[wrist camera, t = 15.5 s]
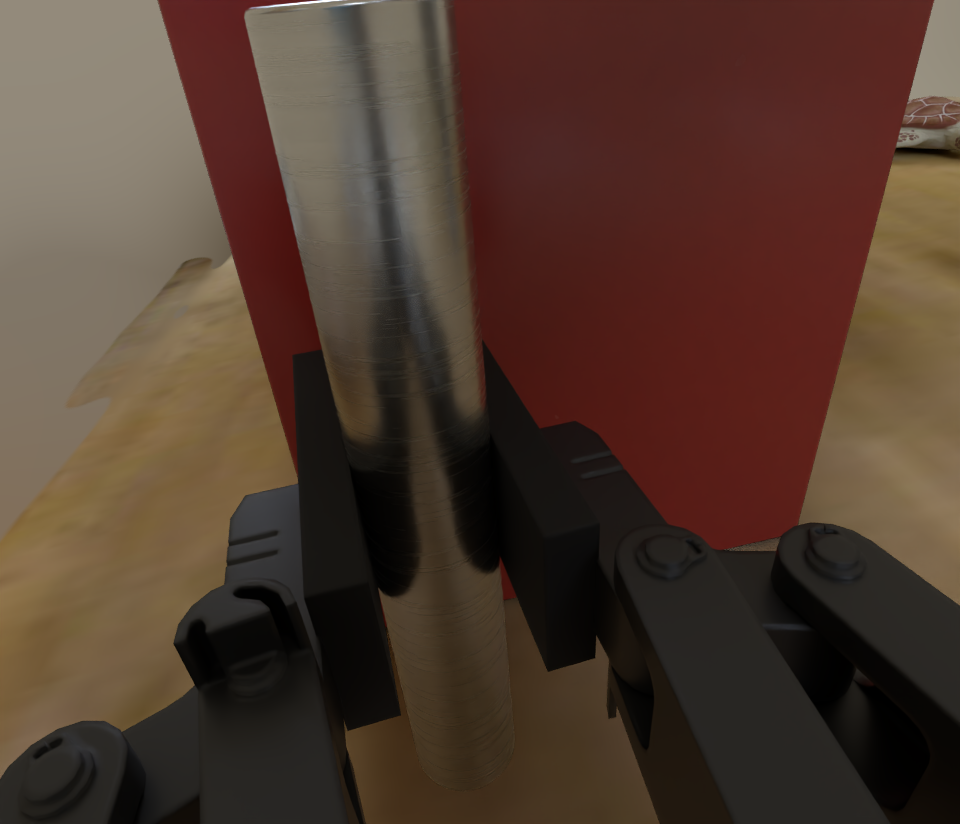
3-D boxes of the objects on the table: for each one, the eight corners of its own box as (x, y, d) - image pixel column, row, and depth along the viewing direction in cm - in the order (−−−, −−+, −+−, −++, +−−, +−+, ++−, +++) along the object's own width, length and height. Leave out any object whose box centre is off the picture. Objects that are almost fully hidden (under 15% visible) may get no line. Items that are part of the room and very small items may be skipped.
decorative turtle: (901, 174, 61) (916, 116, 58) (792, 144, 74) (800, 97, 72) (1062, 150, 63) (1084, 94, 61) (928, 126, 77) (941, 80, 74)
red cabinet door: (966, 715, 17) (1653, -473, 6) (357, 891, 14) (-229, -523, 4) (779, 515, 24) (952, -218, 13) (343, 613, 21) (115, -181, 11)
